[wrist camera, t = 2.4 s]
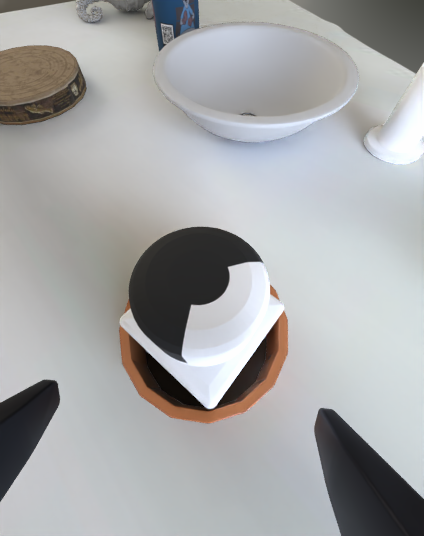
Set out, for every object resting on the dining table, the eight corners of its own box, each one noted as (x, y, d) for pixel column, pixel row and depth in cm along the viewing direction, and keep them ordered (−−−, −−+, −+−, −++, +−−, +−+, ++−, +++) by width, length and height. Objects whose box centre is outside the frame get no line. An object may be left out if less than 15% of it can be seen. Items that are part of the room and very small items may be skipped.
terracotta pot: (189, 454, 17) (181, 472, 13) (114, 325, 21) (91, 308, 17) (301, 351, 20) (323, 340, 16) (217, 257, 24) (218, 229, 20)
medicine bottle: (145, 344, 20) (70, 286, 10) (201, 283, 23) (191, 184, 12) (211, 406, 18) (210, 422, 7) (265, 332, 21) (321, 265, 10)
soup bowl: (276, 63, 42) (286, 10, 36) (371, 146, 32) (407, 90, 26) (141, 95, 38) (128, 39, 32) (202, 203, 27) (199, 151, 21)
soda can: (172, 48, 45) (159, -61, 34) (206, 55, 44) (204, -56, 33) (153, 65, 42) (133, -48, 31) (190, 73, 41) (182, -42, 30)
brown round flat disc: (-46, 119, 35) (-68, 96, 32) (13, 64, 42) (-1, 42, 39) (59, 129, 34) (46, 106, 31) (101, 71, 41) (93, 48, 38)
